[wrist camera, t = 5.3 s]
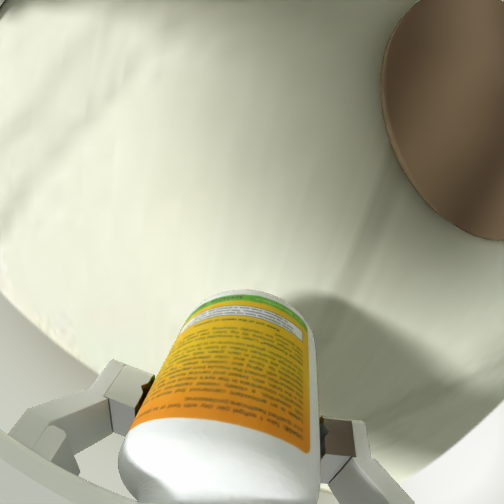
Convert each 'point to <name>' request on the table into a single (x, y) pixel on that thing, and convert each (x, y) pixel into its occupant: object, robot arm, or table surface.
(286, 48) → the table surface
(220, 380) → the supplement bottle
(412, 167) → the walnut coaster
